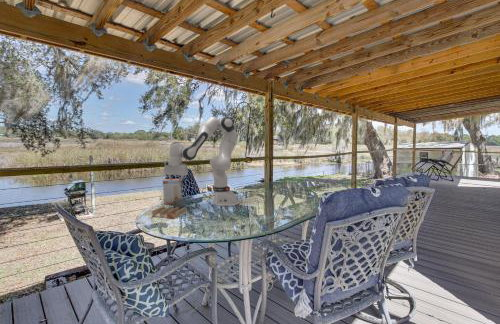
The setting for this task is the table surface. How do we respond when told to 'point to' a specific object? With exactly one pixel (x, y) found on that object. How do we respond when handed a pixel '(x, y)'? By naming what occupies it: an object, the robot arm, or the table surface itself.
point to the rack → (168, 212)
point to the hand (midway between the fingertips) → (175, 180)
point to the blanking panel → (179, 203)
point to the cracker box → (171, 190)
